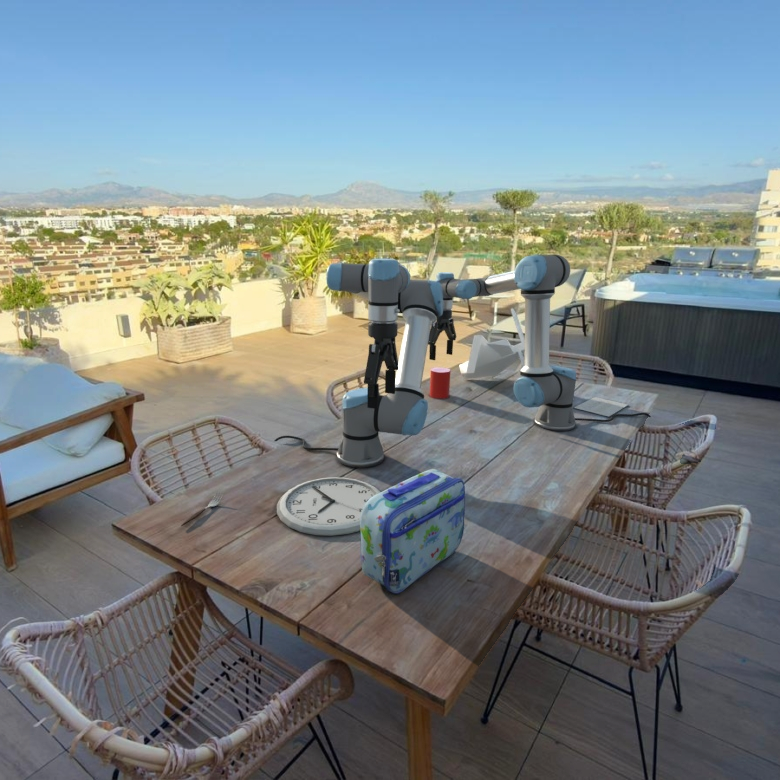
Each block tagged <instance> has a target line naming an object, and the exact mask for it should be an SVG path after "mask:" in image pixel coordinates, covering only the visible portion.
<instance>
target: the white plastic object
mask: <svg viewBox="0 0 780 780" xmlns="http://www.w3.org/2000/svg"><path fill="white" fill-rule="evenodd" d="M510 312H511V316H512V319H513V321H514V325H515V328H516V330H517V334H518V337H519V340H520V342H519V343H517V344H515V345H513V344H511V342H510V341H509V340H508V338H504V339H500V340H495V341H491V342H490V341H488V340H487V338H485V337H484V335H482V334H474V335H473V340H472V342H471V343H472V344H471V348H470V353H469V358H468V360H467V361H465V362H463V363H460V364H459V365H458V367H459V371H460V374H461V376H462V377H463V379H464V380H469V379H479V378H487V377H491V378H492V379H493V378H496V377H498V376H501V375H502V374H501V373H502V372H503V371H505V370H506V369H508V368H509V367H510V366H512V365H514V364H515V363H517V362H518V361H519V360H520V363H521V366H522V367H523V366H524V365H525V334H524V332H523V329H522V327H521V322H520V321H519V318H518V314H517V312H516V311H515V309H514V307H512V308H510Z"/></svg>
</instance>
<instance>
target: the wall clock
mask: <svg viewBox="0 0 780 780" xmlns="http://www.w3.org/2000/svg"><path fill="white" fill-rule="evenodd" d="M381 492H382V491H381V490H380V489H379V488H377V487H376V486H374V485H372V484H371V483H369V482H365V481H362V480H359V479H355V478H349V477H338V476H337V477H335V476H333V477H332V476H331V477H322V478H317V479H312V480H307V481H305V482H302V483H299V484H297V485H295V486H293V487H292V488H290V489H288V490H287V491H286V492H285V493H284V494H283V495H281V496H280V498H279V499H278V502H277V503H276V515H277V517H278V518H279V520H280V521H281V522H282V523H283V524H285V525H286V526H287V527H288V528H290V529H293V530H295V531H297V532H299V533H303V534H308V535H312V536H327V537H328V536H329V537H331V536H332V537H333V536H342V535H350V534H352V533H356V532H360V520H361V513H362V510H363V507H364V505H365V504H366V502H367V501H368V500H369V499H370V498H371V497H373V496H375V495H376V494H378V493H381Z"/></svg>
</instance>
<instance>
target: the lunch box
mask: <svg viewBox="0 0 780 780" xmlns="http://www.w3.org/2000/svg"><path fill="white" fill-rule="evenodd" d="M465 512H466V487H465V482H464V481H463V479H462V478H459V477H452V476H450V475H448V474H446V473H444V472H442V471H441V470H439V469H436V468H431V469H427V470H425V471H423V472H420V473H417V474H416V475H413V476H412V477H409V478H407V479H405V480H403V481H401V482H399V483H397V484H395V485H393V486H390V487H388V488H386V489H385V490H383V491H381V493H378V494H376V495H375V496H373V497H371V498H370V499H369V500H368V501H367V502H366V504H365V505H364V507H363V510H362V513H361V520H360V531H359V532H360V562H361V563H360V564H361V569H362V573H363V574H364V575H365V576H366V577H368V578H370V579H372V580H374V581H376V582H378V583H379V584H380V585H382V586H384V587H385V589H386V591H389V592H391V593H392V594H399V593H402V592H403V591H405V590H406V589H407V588H409V586H411V585H412V584H413V583H415V582H416V581H418V580H419V579H420V578H421V577H423V576H424V575H426V574H427V573H428V572H429V571H431V570H432V569H433V568H434V567H435V566H436V565H438V564H439V563H441V562H443V561H445V560H446V559H448V558H449V557H450V556H452V555H453V554H454V553H455V552H456V551H457V549H458V548H459V546H460V544H461V542H462V539H463V536H464V531H465V517H466V516H465V514H466V513H465Z"/></svg>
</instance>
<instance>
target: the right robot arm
mask: <svg viewBox="0 0 780 780" xmlns="http://www.w3.org/2000/svg"><path fill="white" fill-rule="evenodd" d="M570 275H571V265H570V262H569V261H568V260H567V258H565V257H564V256H562V255H561V254H532V255H527V256H524V257H523V258H522V259H520V261H519V262H518V263H517V264H516V266H515V268H514V270H512V271H511V270H510V271H508V272H503V273H498V274H494V275H491V276H486V277H481V278H466V279H465V278H464V279H461V278H455V274H454V273H453V272H448V271H447V272H442V271H441V272H437V273H436V278H435V281H438V282H440V284H441V286H442V293H443V314H442V315H441V316H437V320H436V322H435V323H434V324H432V325H431V328H430V334H429V341H428V346H429V355H428V356H429V360H431V361H436V357H437V345H436V344H437V341H438V340H439V337H440V335H441V334H442V332H444V333H445V336H446V337H447V339H446V352H445V353H446V354H445V355H451V356H452V355H453V349H454V341H456V339H457V333H456V329H455V324H454V323H455V321H454V320H455V319H454V318H453V310H452V309H453V304H454V303H453V302H454V301H453V300H454V298H458V299H461V300H471V299H473V298H477V297H490V296H493V295H496V294H502V293H506V292H512V291H517V290H520V296H521V297H522V298H523V299H524V338H525V356H524V357H525V365H524V366H522V367H521V368H520V370H519V377H518V378H517V379H516V381H514V384H513V394H514V397H515V399H516V400H517V401H518V402H519V403H520V404H521V405H522V406H524V407H526V408H538V410H537V411H536V413H535V417H534V424H535V425H536V426H537V427H539V428H542V429H544V430H549V431H556V432H567V431H572V430H574V429H575V428H576V421H579V422H580V421H581V422H582V421H584V422H597V423H598V422H600V423H609V422H612V421H613V419H614V418H615V417H639V416H646V417H648V418H652V416H651V415H650V414H649V413H647V412H638V413H617V414H616V413H614V414H613V415H611V416H610V418H609V419H600V418H599V419H598V418H584V417H581V418H580V417H576V416H575V413H574V407H573V405H574V398H575V391H576V383H577V372H576V371H575V369H573V368H571V367H570V368H569V367H566V366H561V365H550V329H551V328H550V327H551V326H550V323H551V318H550V317H551V298H552V297H553V296H554V295H555V294H556V288H557V287H561V286H563V285H564V284H565V283H566V282H567V281H568V279H569V278H570Z"/></svg>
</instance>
